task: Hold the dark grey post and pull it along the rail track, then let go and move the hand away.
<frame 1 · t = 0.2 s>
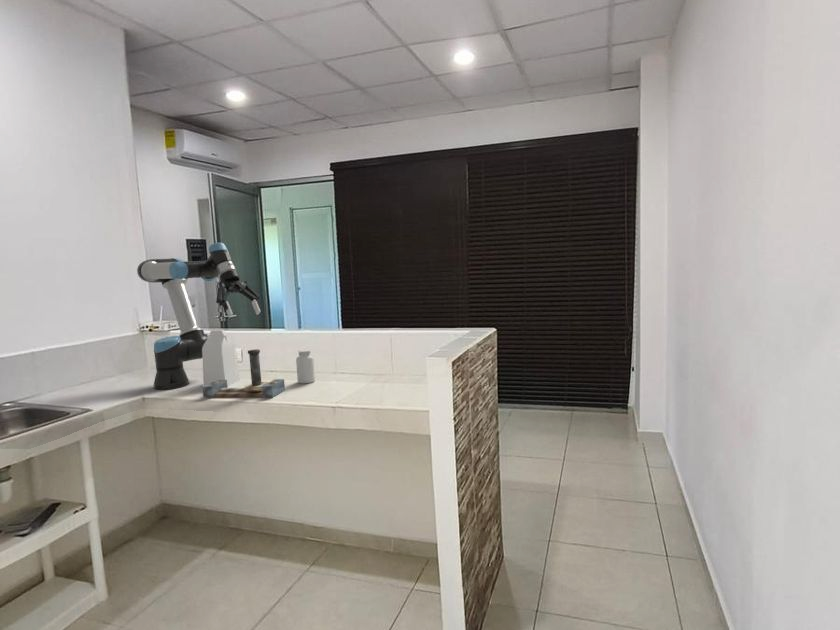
hand: (245, 314, 221), 35 cm above the worktop, fingers open, 13 cm apart
dark grey post: (255, 370, 219), point 11 cm above the worktop, slide at 6.0 cm
pill bottle: (306, 382, 239), on the worktop
rail track: (244, 394, 222), on the worktop
milk: (222, 383, 244), on the worktop
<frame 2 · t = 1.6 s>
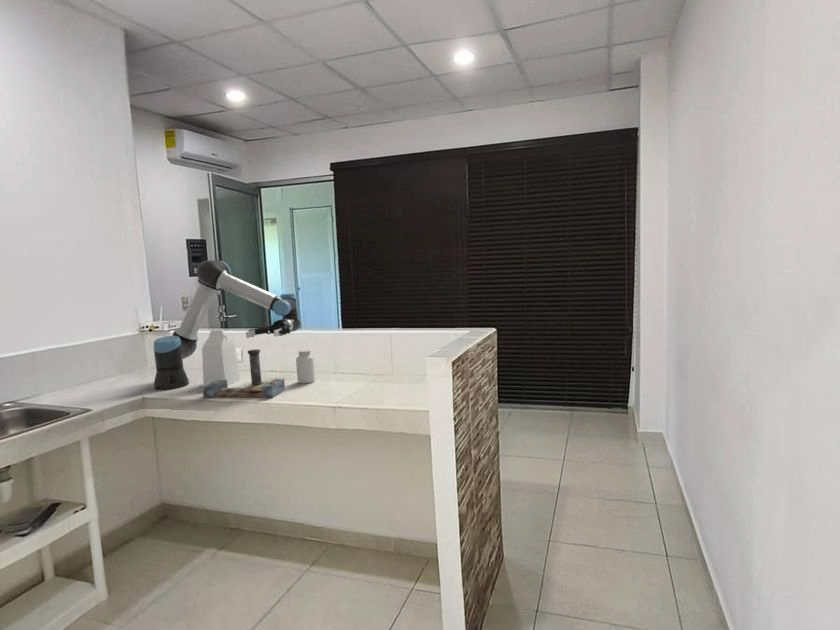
hand: (260, 334, 226), 25 cm above the worktop, fingers open, 13 cm apart
nothing on the worktop moved.
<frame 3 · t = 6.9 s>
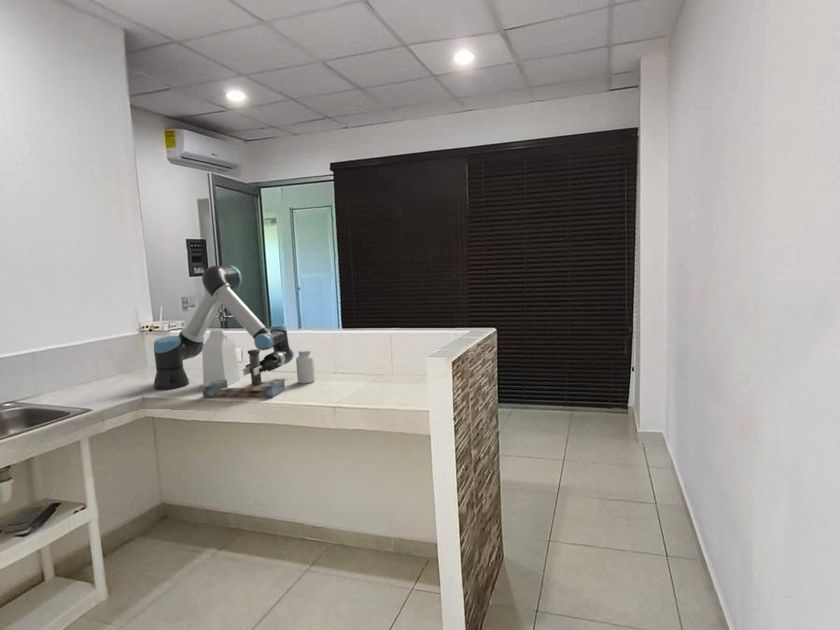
hand: (249, 372, 214), 11 cm above the worktop, fingers closed on dark grey post, 4 cm apart
dark grey post: (255, 370, 219), point 11 cm above the worktop, slide at 6.0 cm, touching gripper
everything else where it was.
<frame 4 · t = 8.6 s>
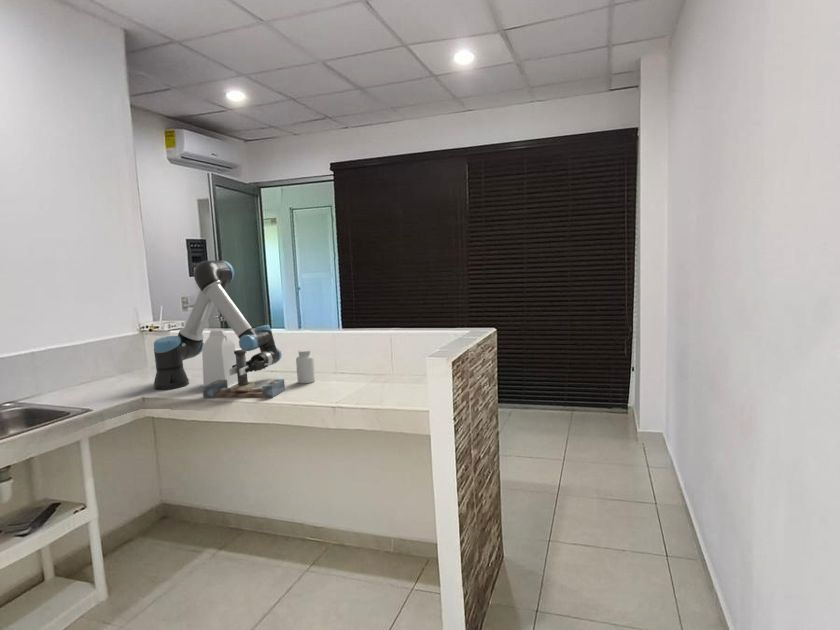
hand: (235, 372, 215), 11 cm above the worktop, fingers closed on dark grey post, 4 cm apart
dark grey post: (241, 370, 221), point 11 cm above the worktop, slide at -0.4 cm, touching gripper
everything else where it was.
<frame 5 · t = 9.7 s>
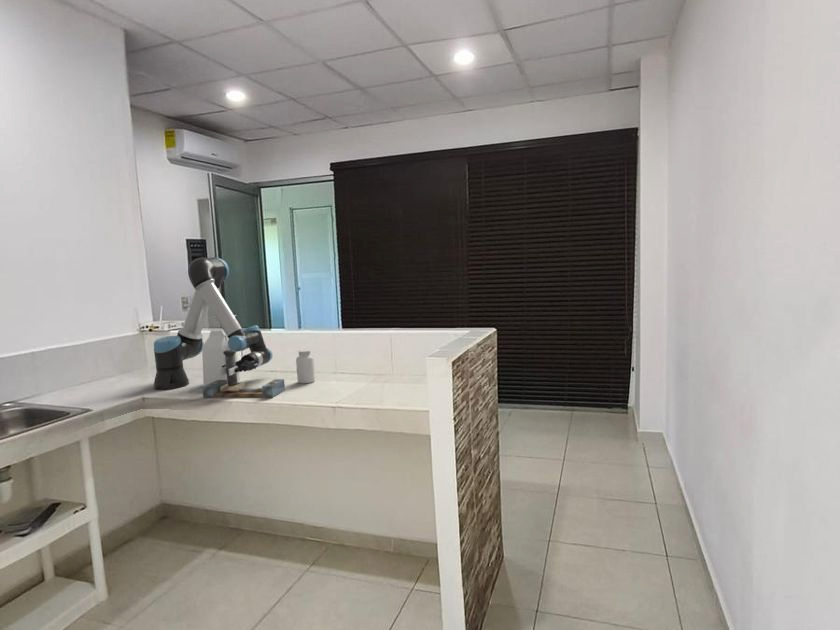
hand: (224, 372, 216), 11 cm above the worktop, fingers closed on dark grey post, 4 cm apart
dark grey post: (231, 370, 221), point 11 cm above the worktop, slide at -5.3 cm, touching gripper
everything else where it was.
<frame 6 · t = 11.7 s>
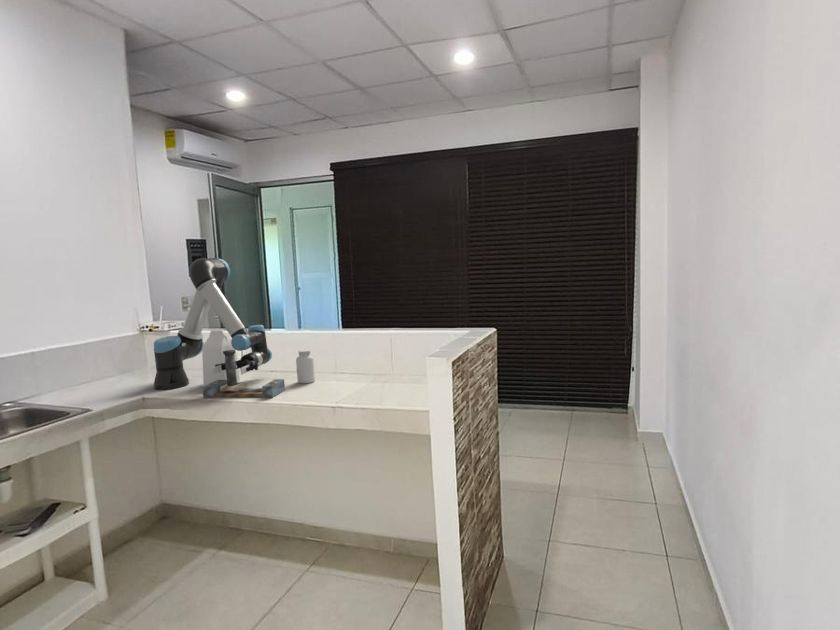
hand: (226, 371, 218), 11 cm above the worktop, fingers open, 13 cm apart
dark grey post: (230, 370, 221), point 11 cm above the worktop, slide at -5.5 cm
everything else where it was.
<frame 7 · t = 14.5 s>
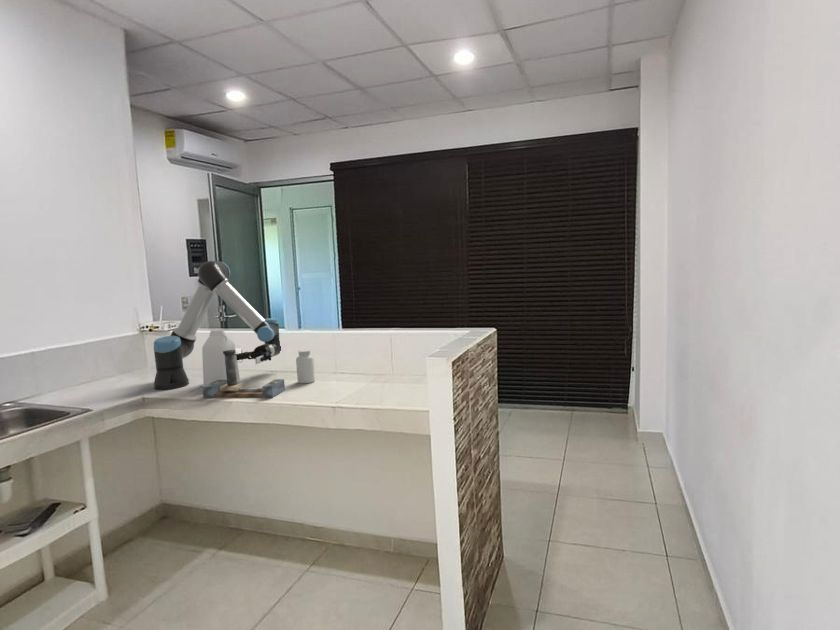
hand: (242, 361, 231), 13 cm above the worktop, fingers open, 13 cm apart
nothing on the worktop moved.
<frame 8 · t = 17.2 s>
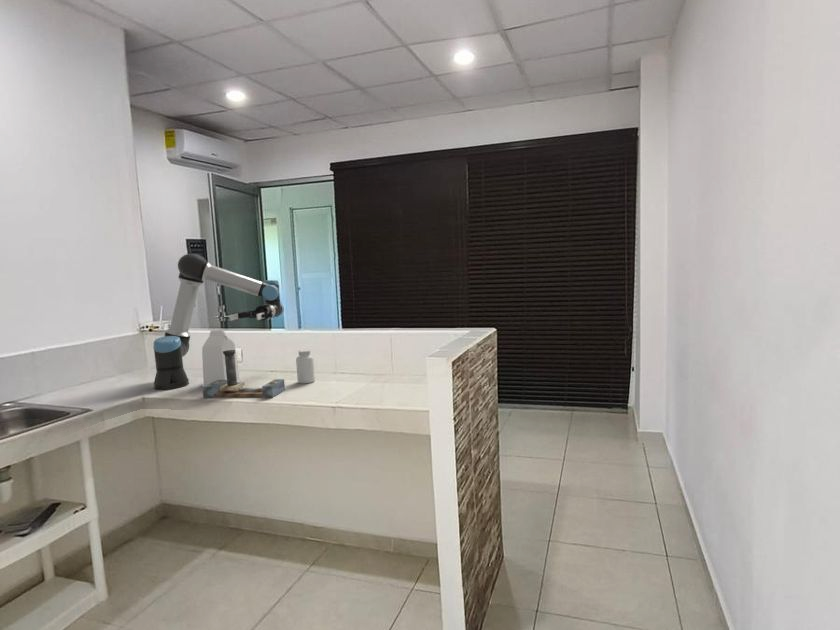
hand: (243, 317, 234), 32 cm above the worktop, fingers open, 13 cm apart
nothing on the worktop moved.
at the end: dark grey post slide at -5.5 cm; pill bottle moved 0.2 cm from its start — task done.
